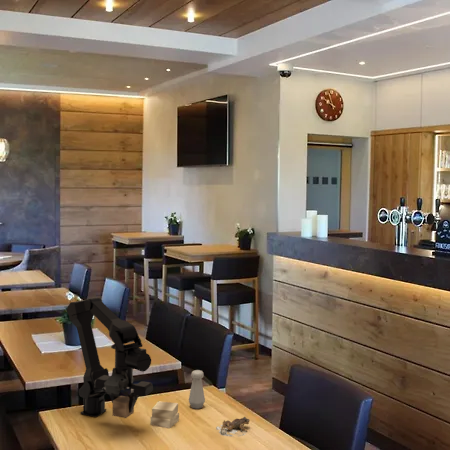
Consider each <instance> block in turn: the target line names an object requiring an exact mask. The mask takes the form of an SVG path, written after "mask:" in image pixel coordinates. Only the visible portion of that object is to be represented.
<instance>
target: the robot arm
mask: <svg viewBox="0 0 450 450" xmlns="http://www.w3.org/2000/svg"><path fill="white" fill-rule="evenodd" d="M66 312H67V315H68V318H69V321H70V322H71V323H72V324H73V325H74V327H75V328H76V329H77V330H76V331H77V335H78V340H79V344H80V348H81V352H82V357H83V361H84V366H85V371H84V374H83V377H82V378H83V384H82V385H81V387H80V388H79V389H78V394H79V397H80V398H82V399H83V400H82V401H83V402H82V404H83V405H82V406H83V407H82V408H83V409H82V411H80V415H84V416H90V417H93V418H94V417H95V418H97V417H99V416H101V415H102V414H103V413H105V412H106V411H107V409H106V399H105V395H108V396H109V398H110V401H111V403H112V404H113V400H115V399H116V398H118V397H119V396H120V393H121V391H126V390H127V389H128V390H130V393H128V394H127V397H129V413H131V412H132V410H133V408H134V409H135V406H136V404H137V401H138V399H139V397H147V395H149V394H151V392H153V391H154V386H153V383H152V382H149V381H144V380H143V381H140V382H138V383H134V382H135V381H136V380H135V377H133V376H134V374H133V372H134V371H133V370H137V371H140V372H143V373H144V372H146V371H147V370H148V369H149V368H150V367H151V365H152V357H151V355H150V354H149V353H147V349H146V348H142V347H143V344H142V340H141V338H140V336H139V333H138V330H137V329H136V327H135V326H134V325H133V324H132V323H130V322H128V321H126V320H123V319H121V318H119V317H118V316H117V315H116V314H115V313H114V312H113V311H112V310H111V309H110V308H109V307H108V306H107V305H106V304H105V303H104V302H103V300H102V298H101V297H97V296H96V297H91V298H90V297H89V298H86V299H84V300H78V301H77V300H76V301H71V302H69V304H68V306H67V308H66ZM94 317H95V318H96V319H97V320H98V321H99V322H100V324H102V325H103V326H104V327H105V328H106V329H107V330H108V336H109V339H111V341H112V342H113V344H112V345H111V346H110V347H111V349H113V350H114V367H113V368H112V372H111V375H110V374H109V369H108V368H107V367H106V368H104V367H103V366H102V365H101V361H100V357H99V353H98V348H97V344H96V340H95V335H94V331H93V327H92V322H93V319H94Z"/></svg>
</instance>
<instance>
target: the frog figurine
mask: <svg viewBox="0 0 450 450" xmlns="http://www.w3.org/2000/svg"><path fill="white" fill-rule="evenodd" d="M250 421H251V420H250V419H249V418H247V417H246V416H244V417H242V418H235V419H233V420H232V421H230V420H226V419H224V420H223V421H222V424H220V425H219V426H216V427H215V430H216V431H218V430H219V431H218V433H219V434H220V436H223V437H224V436H225V437H233V435H235V434H236V433H237V432H238V431H240V432H242V434H240V435H239V437H243V436H245V435H246V434H247V432H248V429H246V428H245V425H249V424H250ZM232 434H233V435H232Z"/></svg>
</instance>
